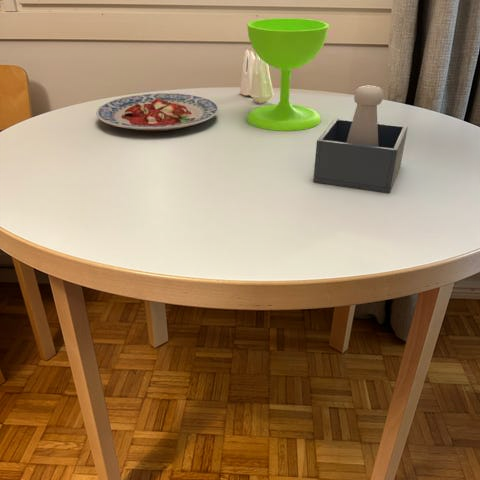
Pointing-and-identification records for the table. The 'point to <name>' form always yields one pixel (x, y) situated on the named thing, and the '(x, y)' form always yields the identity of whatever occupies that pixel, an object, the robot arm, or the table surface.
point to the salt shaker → (365, 116)
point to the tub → (359, 157)
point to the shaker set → (256, 78)
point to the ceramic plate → (157, 111)
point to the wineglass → (286, 67)
